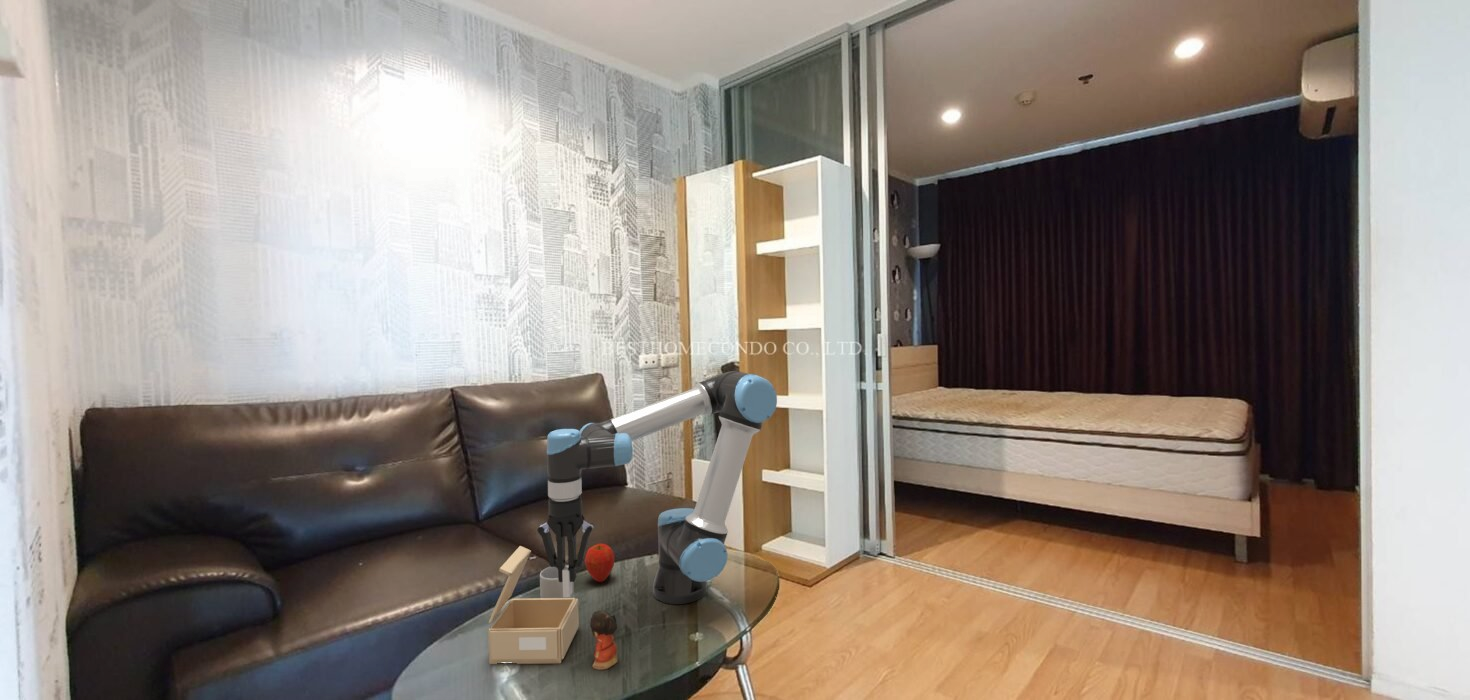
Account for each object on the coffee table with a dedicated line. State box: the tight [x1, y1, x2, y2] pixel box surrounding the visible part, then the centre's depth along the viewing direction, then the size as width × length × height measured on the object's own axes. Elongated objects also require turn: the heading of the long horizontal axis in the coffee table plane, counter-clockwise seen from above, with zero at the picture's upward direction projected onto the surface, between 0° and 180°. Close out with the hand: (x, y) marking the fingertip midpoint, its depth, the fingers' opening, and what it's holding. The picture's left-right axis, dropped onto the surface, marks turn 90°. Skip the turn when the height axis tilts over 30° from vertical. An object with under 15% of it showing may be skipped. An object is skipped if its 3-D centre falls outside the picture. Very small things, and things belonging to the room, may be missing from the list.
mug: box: [539, 566, 575, 598], centre depth 155 cm, size 12×8×11 cm
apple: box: [584, 543, 615, 583], centre depth 171 cm, size 9×8×11 cm
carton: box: [488, 597, 580, 665], centre depth 138 cm, size 16×15×8 cm
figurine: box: [589, 610, 619, 671], centre depth 131 cm, size 6×6×12 cm
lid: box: [488, 545, 532, 624], centre depth 137 cm, size 12×13×3 cm
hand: (567, 594), depth 137 cm, fingers closed
